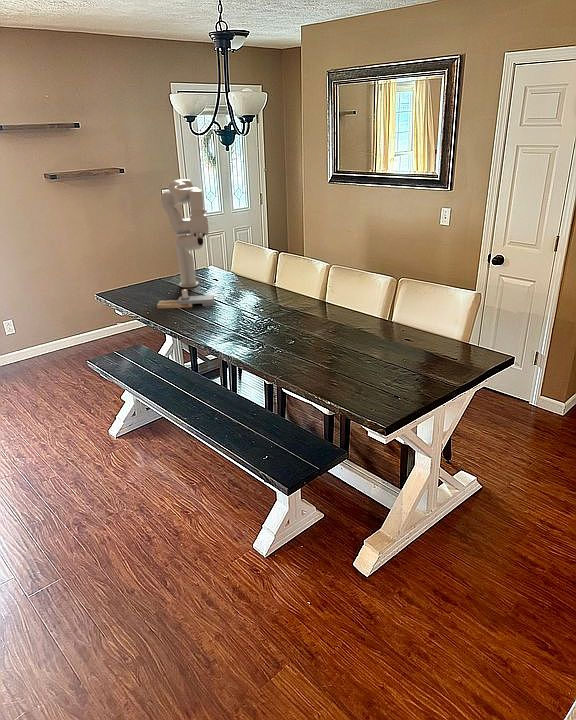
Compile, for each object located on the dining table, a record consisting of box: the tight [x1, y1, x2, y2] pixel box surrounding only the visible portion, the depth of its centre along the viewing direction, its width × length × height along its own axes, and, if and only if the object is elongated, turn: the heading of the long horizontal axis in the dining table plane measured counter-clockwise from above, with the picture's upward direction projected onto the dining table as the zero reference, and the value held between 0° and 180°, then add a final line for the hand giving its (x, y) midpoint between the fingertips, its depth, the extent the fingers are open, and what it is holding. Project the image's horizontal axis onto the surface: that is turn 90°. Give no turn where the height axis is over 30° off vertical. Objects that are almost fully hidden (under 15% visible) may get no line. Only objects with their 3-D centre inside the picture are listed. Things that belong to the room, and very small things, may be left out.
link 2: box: [177, 294, 215, 307], centre depth 314 cm, size 8×20×4 cm, turn 92°
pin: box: [181, 288, 189, 300], centre depth 313 cm, size 3×3×9 cm
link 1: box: [156, 299, 194, 310], centre depth 314 cm, size 8×20×2 cm, turn 91°
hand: (200, 244), depth 315 cm, fingers closed
